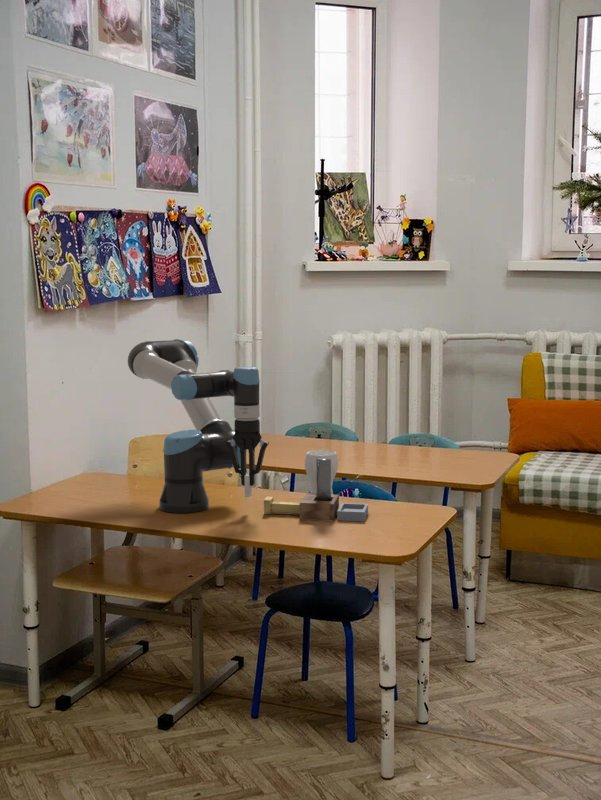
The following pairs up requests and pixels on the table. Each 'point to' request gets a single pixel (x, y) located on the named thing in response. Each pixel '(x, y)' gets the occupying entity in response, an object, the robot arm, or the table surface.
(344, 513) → the grey open tray
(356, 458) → the table surface
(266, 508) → the bar
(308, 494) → the socket block
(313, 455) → the cup
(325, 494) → the grey metal bar
